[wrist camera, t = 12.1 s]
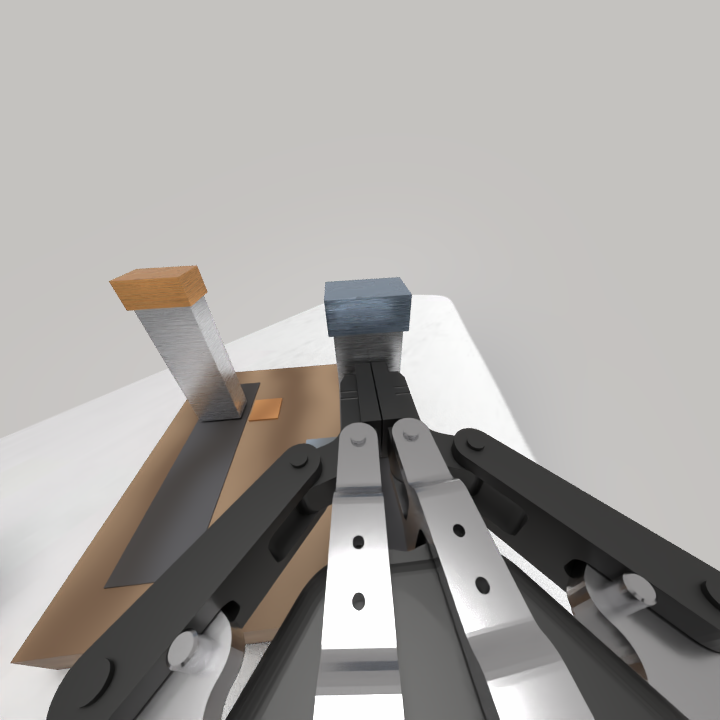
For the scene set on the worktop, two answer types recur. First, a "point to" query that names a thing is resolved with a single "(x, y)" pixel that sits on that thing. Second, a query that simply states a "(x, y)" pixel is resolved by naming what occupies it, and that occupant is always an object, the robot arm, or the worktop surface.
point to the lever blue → (367, 321)
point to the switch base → (201, 511)
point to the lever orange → (185, 336)
